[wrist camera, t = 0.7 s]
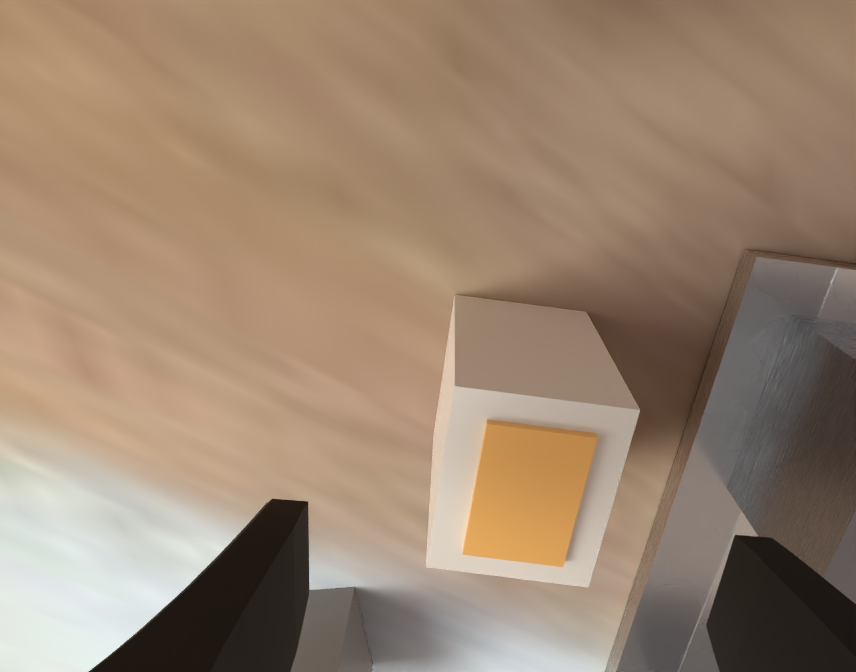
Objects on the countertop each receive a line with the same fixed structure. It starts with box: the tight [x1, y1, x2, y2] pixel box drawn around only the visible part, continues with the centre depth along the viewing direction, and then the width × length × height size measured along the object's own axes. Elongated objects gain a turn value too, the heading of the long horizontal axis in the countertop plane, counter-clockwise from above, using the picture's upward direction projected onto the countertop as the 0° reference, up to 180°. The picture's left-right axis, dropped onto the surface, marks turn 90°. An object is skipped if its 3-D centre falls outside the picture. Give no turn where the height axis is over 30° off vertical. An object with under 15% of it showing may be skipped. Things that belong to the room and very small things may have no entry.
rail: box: [605, 249, 856, 672], centre depth 20 cm, size 8×24×6 cm, turn 173°
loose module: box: [426, 295, 640, 587], centre depth 17 cm, size 4×5×6 cm
